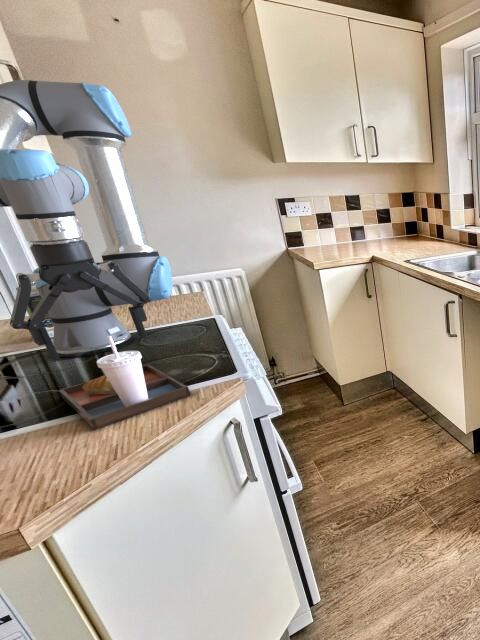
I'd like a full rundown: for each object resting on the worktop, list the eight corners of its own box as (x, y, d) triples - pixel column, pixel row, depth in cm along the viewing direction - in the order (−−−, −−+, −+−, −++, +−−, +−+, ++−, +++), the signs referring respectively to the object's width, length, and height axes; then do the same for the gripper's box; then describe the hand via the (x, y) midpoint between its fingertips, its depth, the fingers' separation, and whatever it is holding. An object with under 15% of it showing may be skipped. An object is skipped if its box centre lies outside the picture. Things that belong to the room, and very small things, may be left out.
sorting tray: (62, 398, 87) (58, 389, 86) (151, 371, 98) (148, 363, 97) (94, 429, 75) (90, 420, 74) (191, 395, 86) (187, 386, 86)
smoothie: (110, 413, 79) (80, 344, 74) (120, 399, 84) (93, 333, 79) (152, 404, 82) (126, 337, 76) (160, 391, 87) (136, 327, 82)
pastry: (77, 400, 84) (70, 383, 83) (97, 385, 90) (90, 369, 89) (134, 392, 87) (127, 375, 85) (149, 378, 93) (143, 363, 91)
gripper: (-46, 254, 66) (16, 375, 74) (148, 234, 85) (181, 332, 93) (-52, 250, 70) (8, 365, 78) (134, 231, 89) (167, 325, 97)
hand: (102, 347), depth 86 cm, fingers open, 13 cm apart
